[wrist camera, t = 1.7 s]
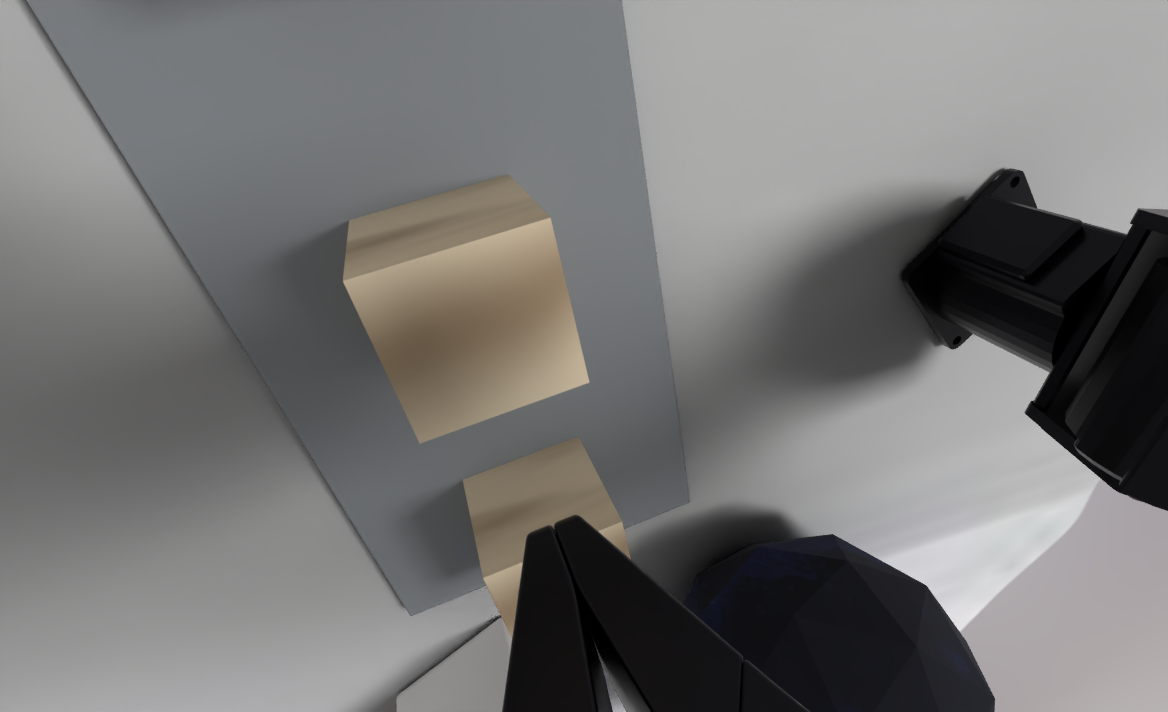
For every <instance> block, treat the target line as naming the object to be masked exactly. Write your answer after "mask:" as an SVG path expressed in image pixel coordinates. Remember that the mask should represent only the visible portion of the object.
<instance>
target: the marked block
mask: <svg viewBox="0 0 1168 712" xmlns="http://www.w3.org/2000/svg"><path fill="white" fill-rule="evenodd" d="M463 484H464V489H465V494H466V498H467V503H468V508H469V513H470V518H471V522H472V527H473V532H474V537H475V542H476V547H477V551H478V556H479V561H480V566H481V571H482V575H483V579H484V581H485V583H486V585H487V587H488V590H489V592H490V594H491V596H492V598H493V600H494V602H495V604H496V606H497V609H498V611H499V613H500V615H501V617H502V619H503V621H504V623H505V625H506V628H507V630H508V632H509V634H510V636H511V638H512V636H513V629H514V622H515V614H516V607H517V600H518V593H519V586H520V578H521V571H522V564H523V557H524V550H525V543H526V537H527V535H528V534H529V533H530V532H532V531H534V530H537V529H539V528H542V527H544V526H547V525H551V526H553V528H554V524H555V523H556V522H557V521H559V520H562V519H565V518H567V517H570V516H572V515H579V516H581V517H582V518H583V519H584V520H586V521H587V522H588V523H589V524H590V525H591V526H593V527H594V528H595V529H596V530H597V531H598V532H600V533H601V534H602V535H603V536H604V537H605V538H606V539H608V540H609V541H610V542H611V543H612V544H613V545H615V546H616V547H617V548H618V549H619V550H620V551H622V552H623V553H624V554H625V555H626V556H627V557H629V558H630V559H631V557H630V553H629V548H628V544H627V540H626V536H625V532H624V527H623V523H622V520H621V518H620V516H619V514H618V513H617V511H616V509H615V507H614V505H613V503H612V501H611V499H610V497H609V495H608V493H607V491H606V489H605V487H604V485H603V483H602V481H601V479H600V478H599V476H598V474H597V472H596V470H595V468H594V466H593V464H592V462H591V460H590V458H589V456H588V454H587V452H586V450H585V448H584V446H583V444H582V443H581V441H580V439H579V437H575V438H573V439H570V440H567V441H565V442H562V443H559V444H557V445H554V446H551V447H549V448H546V449H543V450H541V451H538V452H535V453H533V454H530V455H527V456H525V457H522V458H519V459H517V460H514V461H511V462H509V463H506V464H503V465H501V466H498V467H495V468H493V469H490V470H487V471H485V472H482V473H479V474H477V475H474V476H471V477H469V478H466V479H463ZM554 530H555V529H554ZM555 533H556V532H555Z"/></svg>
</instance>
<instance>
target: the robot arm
mask: <svg viewBox="0 0 1168 712" xmlns="http://www.w3.org/2000/svg"><path fill="white" fill-rule="evenodd" d="M1130 224H1133V225H1132V227H1131V228H1130V230H1129V232H1128V234H1124V233H1120V232H1117V231H1113V230H1109V229H1106V228H1102V227H1098V226H1094V225H1091V224H1087V223H1083V222H1082V221H1080V220H1078V219H1075V218H1071V217H1067V216H1063V215H1060V214H1056V213H1052V212H1048V211H1045V210H1041V209H1037V206H1036V203H1035V201H1034V198H1033V196H1032V193H1031V190H1030V188H1029V185H1028V183H1027V180H1026V177H1025V175H1024V173H1023V171H1020V170H1016V169H1011V168H1010V169H1007V170H1006V171H1004V172H1003V173H1002V174H1001V175H1000V176H999V177H998V178H997V179H996V180H995V181H994V182H993V183H992V184H991V185H990V186H989V187H988V188H987V189H986V190H985V191H984V192H983V193H982V194H981V195H980V196H979V197H978V198H977V199H976V200H975V201H974V202H973V203H972V204H971V205H970V206H969V207H968V208H967V209H966V210H964V211H963V212H962V213H961V214H960V215H959V216H958V217H957V218H956V219H955V220H954V221H953V222H952V223H951V224H950V225H949V226H948V227H947V228H946V229H945V230H944V231H943V232H942V233H941V234H940V235H939V236H938V237H937V238H936V239H935V240H934V241H933V242H932V243H931V244H930V245H929V246H928V247H927V248H926V249H925V250H924V251H923V252H922V253H921V254H920V255H919V256H918V257H917V258H916V259H915V260H914V261H913V262H912V263H911V264H910V265H909V266H908V267H907V268H906V269H905V270H904V272H903V274H902V278H901V280H902V283H903V284H904V286H905V287H906V289H907V290H908V292H909V293H910V295H911V296H912V298H913V299H914V301H915V302H916V304H917V306H918V307H919V309H920V310H921V312H922V313H923V315H924V316H925V318H926V319H927V321H928V322H929V324H930V325H931V327H932V329H933V330H934V332H935V333H936V335H937V336H938V338H939V339H940V341H941V342H942V344H943V345H944V346H946V347H948V348H950V349H956V348H958V347H959V346H960V345H961V344H963V343H964V342H965V341H966V340H967V339H968V338H969V337H970V336H971V335H972V334H974V335H976V336H978V337H980V338H982V339H984V340H986V341H988V342H990V343H992V344H994V345H996V346H998V347H1000V348H1002V349H1004V350H1006V351H1008V352H1010V353H1012V354H1014V355H1016V356H1018V357H1020V358H1022V359H1024V360H1026V361H1028V362H1030V363H1032V364H1034V365H1036V366H1038V367H1040V368H1042V369H1044V370H1046V371H1048V372H1050V373H1049V375H1048V377H1047V378H1046V380H1045V382H1044V384H1043V386H1042V387H1041V389H1040V391H1039V393H1038V395H1037V396H1036V398H1035V400H1034V401H1031V402H1030V404H1029V405H1028V407H1027V409H1026V411H1025V414H1026V415H1027V416H1028V417H1030V418H1031V419H1032V420H1033V421H1034V422H1036V423H1037V424H1038V425H1039V426H1040V427H1041V428H1042V429H1043V430H1044V431H1045V432H1046V433H1048V434H1049V435H1050V436H1051V437H1052V438H1054V439H1055V440H1056V441H1057V442H1058V443H1059V444H1061V445H1062V446H1063V447H1064V448H1065V449H1067V450H1068V451H1069V452H1070V453H1071V454H1073V455H1074V456H1075V457H1076V458H1077V459H1078V460H1080V461H1081V462H1082V463H1083V464H1084V465H1086V466H1087V467H1088V468H1089V469H1090V470H1091V471H1093V472H1094V473H1095V474H1096V475H1097V476H1099V477H1100V478H1101V479H1102V480H1103V481H1105V482H1106V483H1107V484H1108V485H1109V486H1110V487H1112V488H1113V489H1114V490H1116V491H1118V492H1119V493H1122V494H1125V495H1128V496H1129V497H1131V498H1133V499H1135V500H1138V501H1141V502H1145V503H1148V504H1150V505H1152V506H1155V507H1158V508H1161V509H1164V510H1167V511H1168V210H1162V209H1141V208H1138V210H1137V211H1136V213H1135V215H1134V217H1133V219H1132V220H1131V222H1130ZM554 529H555V530H554ZM555 532H556V533H555ZM590 631H591V632H590ZM595 645H596V646H595ZM596 648H597V649H596ZM597 650H598V652H597ZM598 653H599V656H600V658H601V661H602V663H603V665H604V667H605V669H606V672H607V674H608V676H609V678H610V680H611V682H612V684H613V686H614V688H615V690H616V692H617V694H618V696H619V698H620V700H621V702H622V704H623V706H624V708H625V710H626V712H810V711H809V710H807V709H806V708H805V707H803V706H802V705H801V704H800V703H799V702H797V701H796V700H795V699H794V698H792V697H791V696H790V695H789V694H787V693H786V692H785V691H784V690H783V689H781V688H780V687H779V686H778V685H776V684H775V683H774V682H773V681H771V680H770V679H769V678H768V677H767V676H766V675H764V674H763V673H762V672H761V671H760V670H759V669H758V668H756V667H755V666H754V665H753V664H752V663H751V662H749V661H748V660H745V661H744V662H743V656H742V655H741V654H740V653H739V652H737V651H736V650H735V649H734V648H733V647H732V646H730V645H729V644H728V643H727V642H726V641H725V640H724V639H722V638H721V637H720V636H719V635H718V634H717V633H715V632H714V631H713V630H712V629H711V628H710V627H708V626H707V625H706V624H705V623H704V622H703V621H701V620H700V619H699V618H698V617H697V616H696V615H695V614H693V613H692V612H691V611H690V610H689V609H688V608H686V607H685V606H684V605H683V604H682V603H681V602H679V601H678V600H677V599H676V598H675V597H674V596H673V595H671V594H670V593H669V592H668V591H667V590H666V589H664V588H663V587H662V586H661V585H660V584H659V583H657V582H656V581H655V580H654V579H653V578H652V577H651V576H649V575H648V574H647V573H646V572H645V571H644V570H642V569H641V568H640V567H639V566H638V565H637V564H635V563H634V562H633V561H632V560H631V559H630V558H629V557H627V556H626V555H625V554H624V553H623V552H622V551H620V550H619V549H618V548H617V547H616V546H615V545H613V544H612V543H611V542H610V541H609V540H608V539H606V538H605V537H604V536H603V535H602V534H601V533H600V532H598V531H597V530H596V529H595V528H594V527H593V526H591V525H590V524H589V523H588V522H587V521H586V520H584V519H583V518H582V517H581V516H579V515H572V516H570V517H567V518H565V519H562V520H559V521H557V522H556V523H555V524H554V528H553V526H551V525H547V526H544V527H542V528H539V529H537V530H534V531H532V532H530V533H529V534H528V535H527V537H526V543H525V550H524V557H523V564H522V571H521V578H520V586H519V593H518V600H517V607H516V614H515V622H514V629H513V636H512V643H511V650H510V657H509V665H508V672H507V679H506V686H505V693H504V700H503V708H502V712H613V711H612V706H611V702H610V698H609V694H608V689H607V685H606V681H605V677H604V673H603V669H602V665H601V662H600V659H599V656H598Z"/></svg>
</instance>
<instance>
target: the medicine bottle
mask: <svg viewBox="0 0 1168 712" xmlns="http://www.w3.org/2000/svg"><path fill="white" fill-rule="evenodd" d="M511 643H512V638H511V636H510V634H509V632H508V630H507V628H506V625H505V623H504V621H503V619H502V617H501V618H499V619H497V620H496V621H495V622H493V623H492V624H491V625H489V626H488V627H487V628H486V629H484V630H483V631H482V632H480V633H479V634H478V635H476V636H475V637H474V638H472V639H471V640H470V641H468V642H467V643H466V644H464V645H463V646H462V647H460V648H459V649H458V650H456V651H455V652H454V653H452V654H451V655H450V656H448V657H447V658H446V659H445V660H443V661H442V662H441V663H439V664H438V665H437V666H435V667H434V668H433V669H431V670H430V671H429V672H427V673H426V674H425V675H423V676H422V677H421V678H419V679H418V680H417V681H415V682H414V683H413V684H411V685H410V686H409V687H407V688H406V689H405V690H404V691H402V692H401V693H400V694H399V695H398V696H397V699H396V710H397V712H502V708H503V700H504V693H505V686H506V679H507V672H508V665H509V657H510V650H511Z"/></svg>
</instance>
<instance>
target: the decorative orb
mask: <svg viewBox="0 0 1168 712" xmlns="http://www.w3.org/2000/svg"><path fill="white" fill-rule="evenodd" d="M683 605H684V606H685V607H686V608H688V609H689V610H690V611H691V612H692V613H693V614H695V615H696V616H697V617H698V618H699V619H700V620H701V621H703V622H704V623H705V624H706V625H707V626H708V627H710V628H711V629H712V630H713V631H714V632H715V633H717V634H718V635H719V636H720V637H721V638H722V639H724V640H725V641H726V642H727V643H728V644H729V645H730V646H732V647H733V648H734V649H735V650H736V651H737V652H739V653H740V654H741V655H742V656H743V662H744V661H745V660H748V661H749V662H751V663H752V664H753V665H754V666H755V667H756V668H758V669H759V670H760V671H761V672H762V673H763V674H764V675H766V676H767V677H768V678H769V679H770V680H771V681H773V682H774V683H775V684H776V685H778V686H779V687H780V688H781V689H783V690H784V691H785V692H786V693H787V694H789V695H790V696H791V697H792V698H794V699H795V700H796V701H797V702H799V703H800V704H801V705H802V706H803V707H805V708H806V709H807V710H809V711H810V712H994V706H995V698H994V696H993V694H992V692H991V690H990V688H989V686H988V684H987V682H986V680H985V678H984V676H983V674H982V672H981V670H980V668H979V666H978V664H977V662H976V660H975V658H974V656H973V654H972V652H971V650H970V648H969V646H968V644H967V642H966V640H965V639H964V638H963V637H962V635H961V633H960V632H959V630H958V629H957V628H956V626H955V625H954V623H953V622H952V621H951V619H950V618H949V616H948V615H947V614H946V612H945V611H944V609H943V608H942V607H941V605H940V604H939V603H938V601H937V600H936V598H935V597H934V596H933V594H932V593H931V591H930V590H929V589H928V587H927V586H926V585H924V584H923V583H921V582H919V581H917V580H915V579H913V578H912V577H910V576H908V575H906V574H904V573H902V572H901V571H899V570H897V569H895V568H893V567H892V566H890V565H888V564H886V563H884V562H882V561H881V560H879V559H877V558H875V557H873V556H871V555H870V554H868V553H866V552H864V551H862V550H860V549H859V548H857V547H855V546H853V545H851V544H850V543H848V542H846V541H844V540H842V539H840V538H839V537H837V536H835V535H833V534H830V535H822V536H814V537H805V538H797V539H789V540H781V541H772V542H764V543H756V544H750V545H749V546H747V547H745V548H743V549H741V550H740V551H738V552H736V553H734V554H733V555H731V556H729V557H727V558H726V559H724V560H722V561H720V562H718V563H717V564H715V565H713V566H711V567H710V568H708V569H706V570H704V571H703V572H701V573H699V574H697V577H696V579H695V581H694V583H693V585H692V587H691V589H690V591H689V594H688V596H687V598H686V600H685V602H684V604H683Z"/></svg>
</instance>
